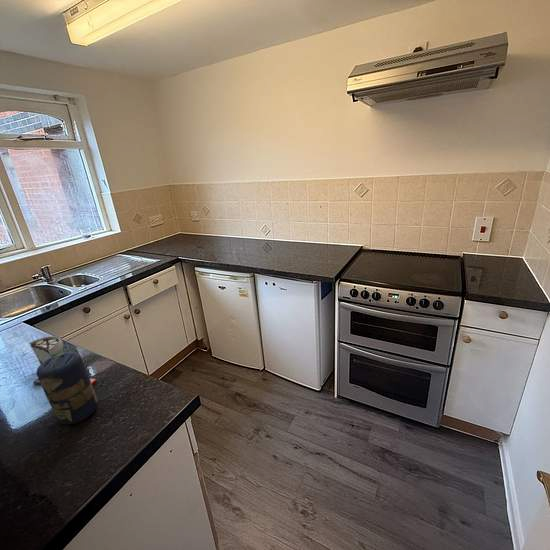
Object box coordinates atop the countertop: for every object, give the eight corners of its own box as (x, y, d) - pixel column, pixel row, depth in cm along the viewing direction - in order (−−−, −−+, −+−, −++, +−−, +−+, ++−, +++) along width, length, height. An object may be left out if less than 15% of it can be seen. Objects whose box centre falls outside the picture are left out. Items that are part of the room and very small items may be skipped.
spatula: (29, 388, 92) (27, 385, 91) (43, 377, 96) (42, 374, 96) (84, 392, 88) (83, 389, 87) (96, 380, 92) (95, 377, 92)
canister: (50, 427, 77) (21, 371, 70) (76, 399, 85) (53, 347, 79) (84, 428, 75) (58, 370, 69) (107, 399, 84) (86, 346, 78)
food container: (79, 364, 101) (69, 339, 98) (60, 376, 96) (48, 350, 93) (59, 356, 107) (48, 332, 103) (40, 367, 102) (28, 342, 98)
